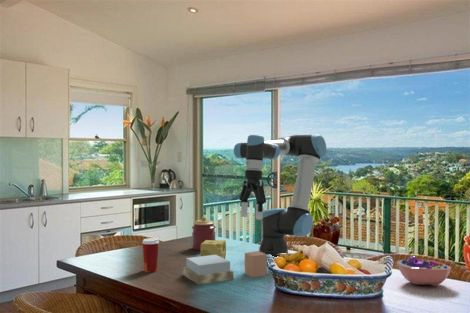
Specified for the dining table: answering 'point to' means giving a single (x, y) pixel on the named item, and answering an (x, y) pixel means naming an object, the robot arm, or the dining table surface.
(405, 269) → the cell model
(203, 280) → the tower base
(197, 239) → the canister
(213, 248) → the cheese
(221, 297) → the dining table surface
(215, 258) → the tower top
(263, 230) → the robot arm
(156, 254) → the paper cup
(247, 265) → the terracotta block
